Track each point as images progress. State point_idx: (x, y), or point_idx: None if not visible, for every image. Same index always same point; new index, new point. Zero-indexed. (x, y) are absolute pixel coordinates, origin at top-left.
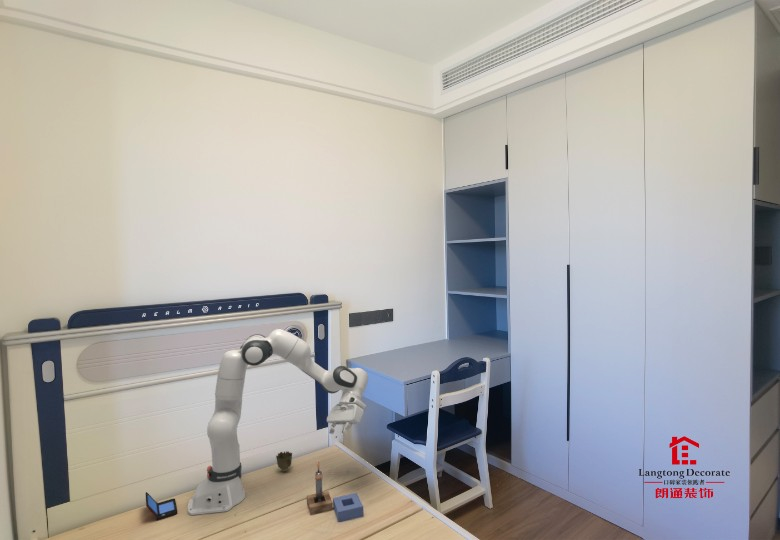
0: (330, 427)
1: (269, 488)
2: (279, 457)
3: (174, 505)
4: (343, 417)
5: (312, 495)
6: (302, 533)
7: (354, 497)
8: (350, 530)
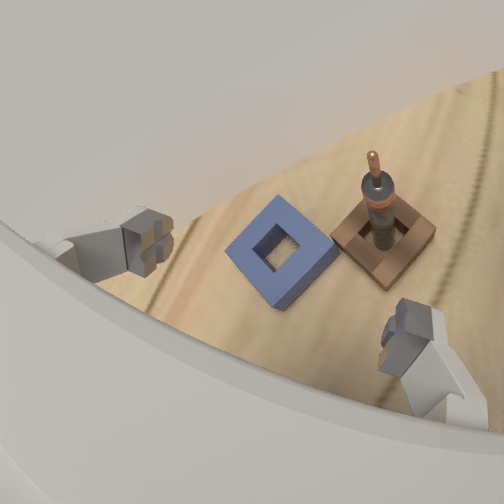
0: (448, 354)
1: None
2: None
3: None
4: (50, 319)
5: (420, 237)
6: (345, 136)
7: (266, 279)
8: (246, 199)
